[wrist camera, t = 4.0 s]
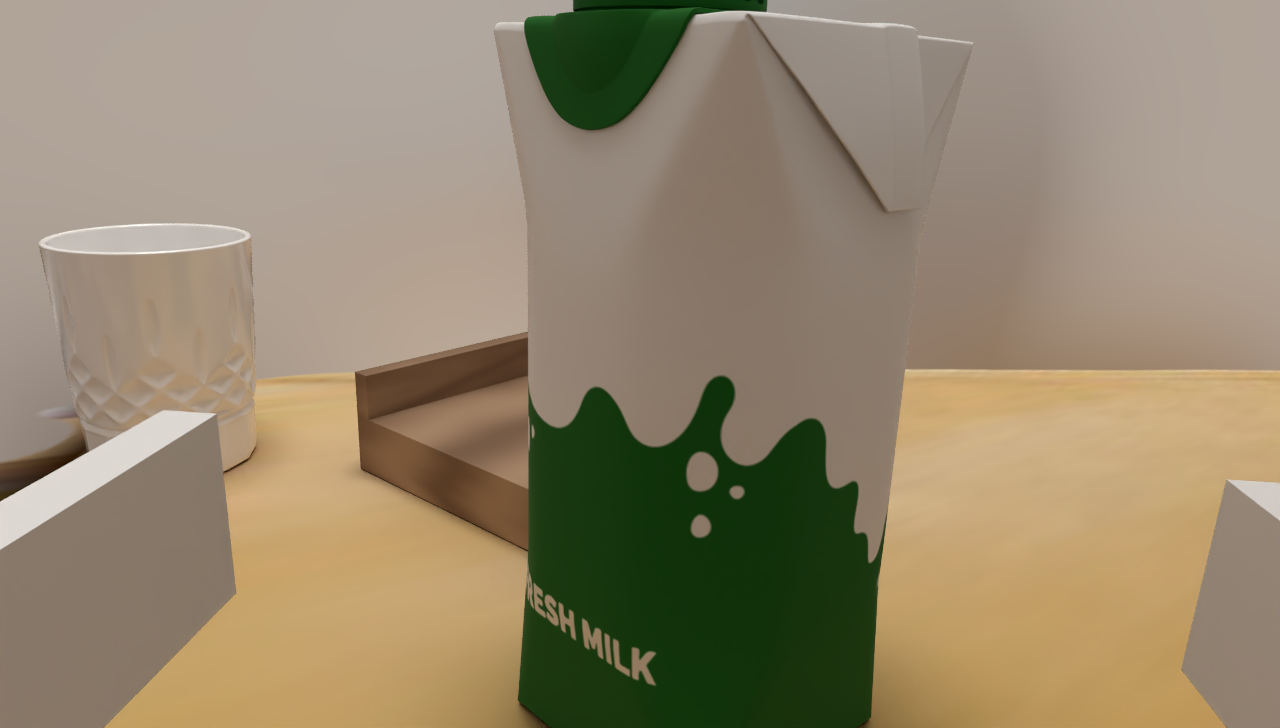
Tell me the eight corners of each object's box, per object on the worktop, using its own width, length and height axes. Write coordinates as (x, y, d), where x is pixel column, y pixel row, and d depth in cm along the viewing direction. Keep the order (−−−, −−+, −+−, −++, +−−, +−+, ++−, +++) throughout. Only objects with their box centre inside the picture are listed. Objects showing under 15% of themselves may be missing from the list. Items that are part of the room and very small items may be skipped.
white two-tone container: (471, 700, 26) (453, -80, 20) (695, 591, 32) (731, -33, 26) (697, 902, 19) (765, -143, 14) (921, 720, 25) (1035, -62, 20)
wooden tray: (796, 467, 42) (804, 375, 41) (588, 580, 32) (590, 461, 31) (579, 397, 51) (580, 319, 50) (360, 468, 41) (355, 372, 39)
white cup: (296, 429, 45) (280, 226, 42) (220, 497, 37) (194, 256, 34) (139, 422, 45) (112, 220, 42) (31, 489, 38) (-10, 248, 35)
